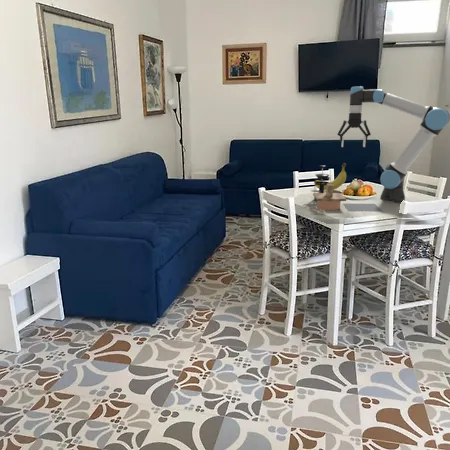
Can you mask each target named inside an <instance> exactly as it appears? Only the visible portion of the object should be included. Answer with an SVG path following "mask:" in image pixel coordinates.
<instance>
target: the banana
mask: <svg viewBox="0 0 450 450" xmlns="http://www.w3.org/2000/svg"><path fill="white" fill-rule="evenodd" d="M346 166H347V163H345V162H343V163H342V165H341V167H342V168H341V172H339V174H338V176H337V177H336V178H335V179H334V180H332V181H330V182H331V183H332V185H333V191H334V190H337V189H339V188H340V187H341V186H342V185H344V183H345V182H346V180H347V172H346V170H345V167H346ZM316 181H319V179H315V180H314V181H313V184H314V187H315V188H317V189H319V188H320V185H315V182H316ZM331 183H329V184H331ZM326 186H327V185H324V190H326Z"/></svg>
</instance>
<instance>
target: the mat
mask: <svg viewBox="0 0 450 450" xmlns="http://www.w3.org/2000/svg"><path fill="white" fill-rule="evenodd" d="M342 205H343V206H344V207H345V209H346V210H347V212H383V210H382V209H381V208H380V207H379V206H378V205H377V204H376V203H342Z"/></svg>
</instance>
